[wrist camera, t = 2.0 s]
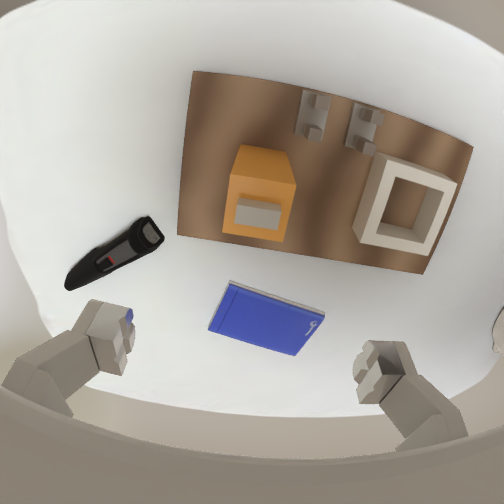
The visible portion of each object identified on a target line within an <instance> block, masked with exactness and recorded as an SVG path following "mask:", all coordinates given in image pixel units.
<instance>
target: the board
mask: <svg viewBox="0 0 504 504" xmlns="http://www.w3.org/2000/svg"><path fill="white" fill-rule="evenodd" d="M241 144H243V145H250V146H256V147H262V148H267V149H273V150H278V151H284V152H286V153H287V156H288V159H289V163H290V166H291V169H292V172H293V176H294V179H295V182H296V190H295V194H294V198H293V202H292V206H291V211H290V215H289V219H288V223H287V227H286V231H285V235H284V239H283V242H278V241H272V240H266V239H260V238H254V237H247V236H241V235H235V234H229V233H222V229H223V222H224V215H225V208H226V201H227V194H228V187H229V180H230V174H231V171H232V168H233V165H234V162H235V159H236V156H237V153H238V150H239V147H240V145H241ZM473 148H474V147H473V146H471V145H469V144H467V143H464V142H462V141H460V140H458V139H456V138H454V137H452V136H449V135H447V134H445V133H443V132H440V131H438V130H436V129H433V128H431V127H429V126H426V125H424V124H421V123H419V122H416V121H414V120H411V119H408V118H406V117H403V116H400V115H397V114H395V113H392V112H389V111H386V110H383V109H380V108H377V107H374V106H371V105H368V104H364V103H361V102H358V101H355V100H351V99H348V98H344V97H340V96H337V95H333V94H329V93H325V92H321V91H317V90H313V89H308V88H304V87H299V86H295V85H290V84H285V83H280V82H274V81H269V80H263V79H257V78H250V77H243V76H236V75H228V74H219V73H210V72H198V71H193V75H192V82H191V89H190V96H189V104H188V112H187V120H186V128H185V138H184V147H183V157H182V168H181V180H180V193H179V208H178V225H177V235H181V236H188V237H194V238H200V239H207V240H213V241H219V242H226V243H232V244H238V245H245V246H251V247H257V248H263V249H270V250H276V251H282V252H288V253H294V254H300V255H307V256H313V257H319V258H325V259H331V260H337V261H343V262H350V263H356V264H362V265H368V266H374V267H380V268H386V269H392V270H398V271H404V272H410V273H416V274H422V275H423V273H424V271H425V269H426V267H427V265H428V263H429V261H430V259H431V257H432V255H433V253H434V250H435V248H436V246H437V244H438V242H439V239H440V237H441V235H442V233H443V230H444V228H445V226H446V223H447V221H448V218H449V216H450V213H451V211H452V208H453V206H454V203H455V201H456V198H457V195H458V193H459V190H460V187H461V184H462V182H463V179H464V176H465V173H466V170H467V167H468V164H469V161H470V158H471V154H472V151H473ZM376 151H377V152H380V153H383V154H387V155H390V156H393V157H396V158H399V159H403V160H406V161H409V162H412V163H415V164H418V165H420V166H423V167H426V168H429V169H432V170H434V171H437V172H440V173H443V174H444V175H446V176H447V177H448V178H450V179H451V180H453V181H454V182H456V183H457V187H456V189H455V192H454V195H453V198H452V200H451V203H450V205H449V208H448V211H447V213H446V216H445V218H444V220H443V223H442V225H441V228H440V230H439V232H438V235H437V237H436V239H435V241H434V244H433V246H432V248H431V250H430V252H429V255H428V256H425V255H420V254H415V253H410V252H405V251H400V250H395V249H390V248H385V247H380V246H375V245H369V244H364V243H360V242H359V240H358V238H357V236H356V234H355V232H354V231H353V229H352V226H353V223H354V220H355V217H356V214H357V211H358V208H359V205H360V202H361V198H362V195H363V192H364V189H365V186H366V182H367V179H368V176H369V172H370V169H371V166H372V162H373V159H374V155H375V152H376ZM427 188H428V186H425V185H422V184H419V183H415V182H412V181H409V180H406V179H402V178H399V177H396V176H395V180H394V183H393V186H392V189H391V192H390V195H389V198H388V201H387V203H386V206H385V209H384V212H383V215H382V218H381V220H380V222H382V223H386V224H390V225H395V226H399V227H403V228H407V229H412V228H413V226H414V223H415V221H416V218H417V215H418V213H419V210H420V208H421V205H422V202H423V200H424V197H425V194H426V191H427Z"/></svg>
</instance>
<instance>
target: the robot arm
mask: <svg viewBox="0 0 504 504" xmlns="http://www.w3.org/2000/svg"><path fill="white" fill-rule="evenodd" d="M132 319H133V311H132V309H131V308H127V307H123V306H119V305H115V304H111V303H107V302H102V301H98V300H94V299H91V300H90V301H89V302H88V303H87V305H86V306H85V308H84V310H83V311H82V313H81V315H80V316H79V318H78V320H77V321H76V323H75V325H74V326H73V328H72V330H71V331H69V330H66V331H65V332H63V333H61V334H59V335H57V336H56V337H54V338H52V339H50V340H48V341H47V342H45V343H43V344H41V345H39V346H38V347H36V348H34V349H33V350H31V351H29V352H27V353H25V354H24V355H22V356H20V357H18V358H17V359H16V360H15V362H14V364H13V366H12V367H11V369H10V371H9V372H8V374H7V376H6V378H5V380H4V381H3V383H2V385H1V386H0V504H504V425H502V426H499V427H496V428H493V429H490V430H487V431H484V432H481V433H477V434H474V435H471V436H469V435H468V432H467V430H466V427H465V424H464V421H463V418H462V416H461V413H460V410H459V409H458V408H457V407H456V406H454V405H453V404H452V403H451V402H450V401H449V400H448V399H447V398H446V397H445V396H444V395H443V394H442V393H440V392H439V391H438V390H437V389H436V388H435V387H434V386H433V385H432V384H431V383H430V382H428V381H427V380H426V379H425V378H424V377H423V376H422V375H418V374H417V371H416V368H415V366H414V363H413V361H412V358H411V356H410V353H409V351H408V348H407V346H406V344H405V343H404V342H396V341H392V342H391V341H372V340H368V341H367V342H365V344H364V345H363V347H362V348H363V352H362V353H360V354H359V355H357V357H356V359H355V361H354V365H353V377H354V380H355V381H356V382H357V383H358V384H359V385H358V387H357V389H356V391H357V395H358V400H359V404H379V406H380V407H381V408H382V409H383V411H384V412H385V413H386V415H387V416H388V417H389V418H390V419H391V421H392V422H393V423H394V425H395V426H396V427H397V428H398V430H399V431H400V432H401V434H402V435H403V436H404V438H405V439H404V440H403V441H402V442H401V443H400V444H398V445H397V447H396V448H395V449H396V452H389V453H382V454H373V455H363V456H353V457H352V456H351V457H338V458H337V457H336V458H269V457H252V456H241V455H231V454H222V453H214V452H207V451H200V450H193V449H187V448H182V447H176V446H171V445H166V444H161V443H157V442H152V441H148V440H144V439H140V438H136V437H132V436H128V435H124V434H121V433H117V432H114V431H111V430H107V429H104V428H100V427H98V426H94V425H91V424H88V423H85V422H83V421H80V420H77V419H74V418H72V417H73V412H72V410H71V409H70V407H69V405H68V404H67V402H66V399H67V398H68V397H69V396H71V395H72V394H73V393H74V392H76V391H77V390H78V389H79V388H81V387H82V386H83V385H84V384H85V383H87V382H88V381H89V380H90V379H92V378H93V377H94V376H95V375H97V374H98V373H99V372H100V371H103V372H107V373H111V374H115V375H120V376H122V374H123V372H124V369H125V366H126V364H127V357H126V354H128V353H130V352H131V351H132V348H133V345H134V340H135V326H134V325H133V323H132V322H131V321H132ZM492 335H493V339H494V345H493V351H494V352H495V353H500V352H501V354H502V355H503V357H504V309H503V310H502V312H501V313H500V315H499V317H498V318H497V320H496V323H495V325H494V328H493V333H492Z"/></svg>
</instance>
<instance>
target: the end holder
mask: <svg viewBox="0 0 504 504" xmlns="http://www.w3.org/2000/svg"><path fill="white" fill-rule="evenodd" d="M395 176H396V177H399V178H402V179H406V180H409V181H412V182H415V183H419V184H422V185H425V186H428V188H427V191H426V194H425V197H424V200H423V202H422V205H421V208H420V210H419V213H418V215H417V218H416V221H415V223H414V226H413V228H412V229H407V228H403V227H399V226H395V225H390V224H386V223H382V222H380V220H381V218H382V215H383V212H384V209H385V206H386V203H387V201H388V198H389V195H390V192H391V189H392V186H393V183H394V180H395ZM456 187H457V183H456V182H454V181H453V180H451V179H450V178H448V177H447V176H446V175H444V174H443V173H440V172H437V171H434V170H432V169H429V168H426V167H423V166H420V165H418V164H415V163H412V162H409V161H406V160H403V159H399V158H396V157H393V156H390V155H387V154H383V153H380V152H377V151H376V152H375V155H374V159H373V162H372V166H371V169H370V172H369V176H368V179H367V182H366V186H365V189H364V192H363V195H362V198H361V202H360V205H359V208H358V211H357V214H356V217H355V220H354V223H353V226H352V229H353V231H354V232H355V234H356V236H357V238H358V240H359V242H360V243H364V244H369V245H375V246H380V247H385V248H390V249H395V250H400V251H405V252H410V253H415V254H420V255H425V256H428V255H429V252H430V250H431V248H432V246H433V244H434V241H435V239H436V237H437V235H438V232H439V230H440V228H441V225H442V223H443V220H444V218H445V216H446V213H447V211H448V208H449V205H450V203H451V200H452V198H453V195H454V192H455V189H456Z"/></svg>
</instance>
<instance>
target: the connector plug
mask: <svg viewBox="0 0 504 504" xmlns="http://www.w3.org/2000/svg"><path fill="white" fill-rule="evenodd" d="M295 190H296V182H295V179H294V176H293V172H292V169H291V166H290V163H289V159H288V156H287V153H286V152H284V151H278V150H273V149H267V148H262V147H256V146H250V145H243V144H241V145H240V147H239V150H238V153H237V156H236V159H235V162H234V165H233V168H232V171H231V174H230V180H229V187H228V194H227V201H226V208H225V215H224V222H223V229H222V233H229V234H235V235H241V236H247V237H254V238H260V239H266V240H272V241H278V242H283V239H284V235H285V231H286V227H287V223H288V219H289V215H290V211H291V206H292V202H293V198H294V194H295Z"/></svg>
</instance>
